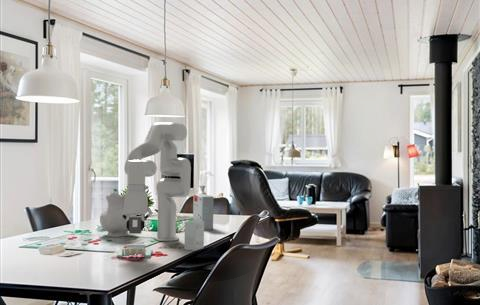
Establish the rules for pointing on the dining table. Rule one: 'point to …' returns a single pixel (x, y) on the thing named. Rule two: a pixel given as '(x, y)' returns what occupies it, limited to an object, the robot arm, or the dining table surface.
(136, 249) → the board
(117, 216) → the ceramic pitcher
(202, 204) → the hard drive box
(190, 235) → the small box
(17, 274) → the dining table surface
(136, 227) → the plug
